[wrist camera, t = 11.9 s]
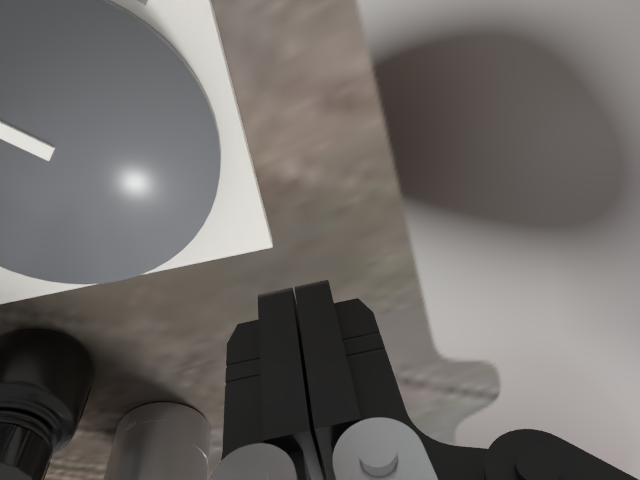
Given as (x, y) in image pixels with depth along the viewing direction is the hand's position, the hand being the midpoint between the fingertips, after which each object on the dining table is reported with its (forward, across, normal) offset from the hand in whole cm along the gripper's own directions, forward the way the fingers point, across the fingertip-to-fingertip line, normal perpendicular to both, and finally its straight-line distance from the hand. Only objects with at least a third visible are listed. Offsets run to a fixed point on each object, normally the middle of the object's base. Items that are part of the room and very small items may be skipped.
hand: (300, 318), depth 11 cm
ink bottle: (+27, +25, +22) cm, 43 cm away
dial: (+26, +14, +3) cm, 29 cm away
